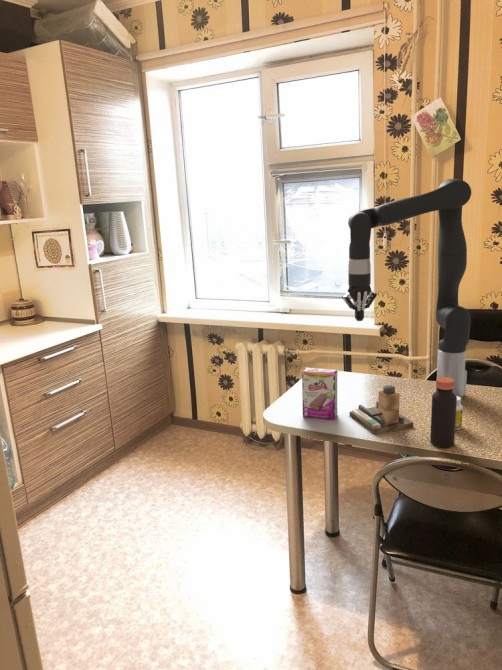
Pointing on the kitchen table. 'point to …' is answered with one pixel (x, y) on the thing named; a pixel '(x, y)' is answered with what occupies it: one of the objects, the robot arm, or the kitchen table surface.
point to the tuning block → (388, 405)
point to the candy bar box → (319, 393)
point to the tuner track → (378, 420)
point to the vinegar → (443, 414)
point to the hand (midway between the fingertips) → (359, 320)
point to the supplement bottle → (458, 414)
